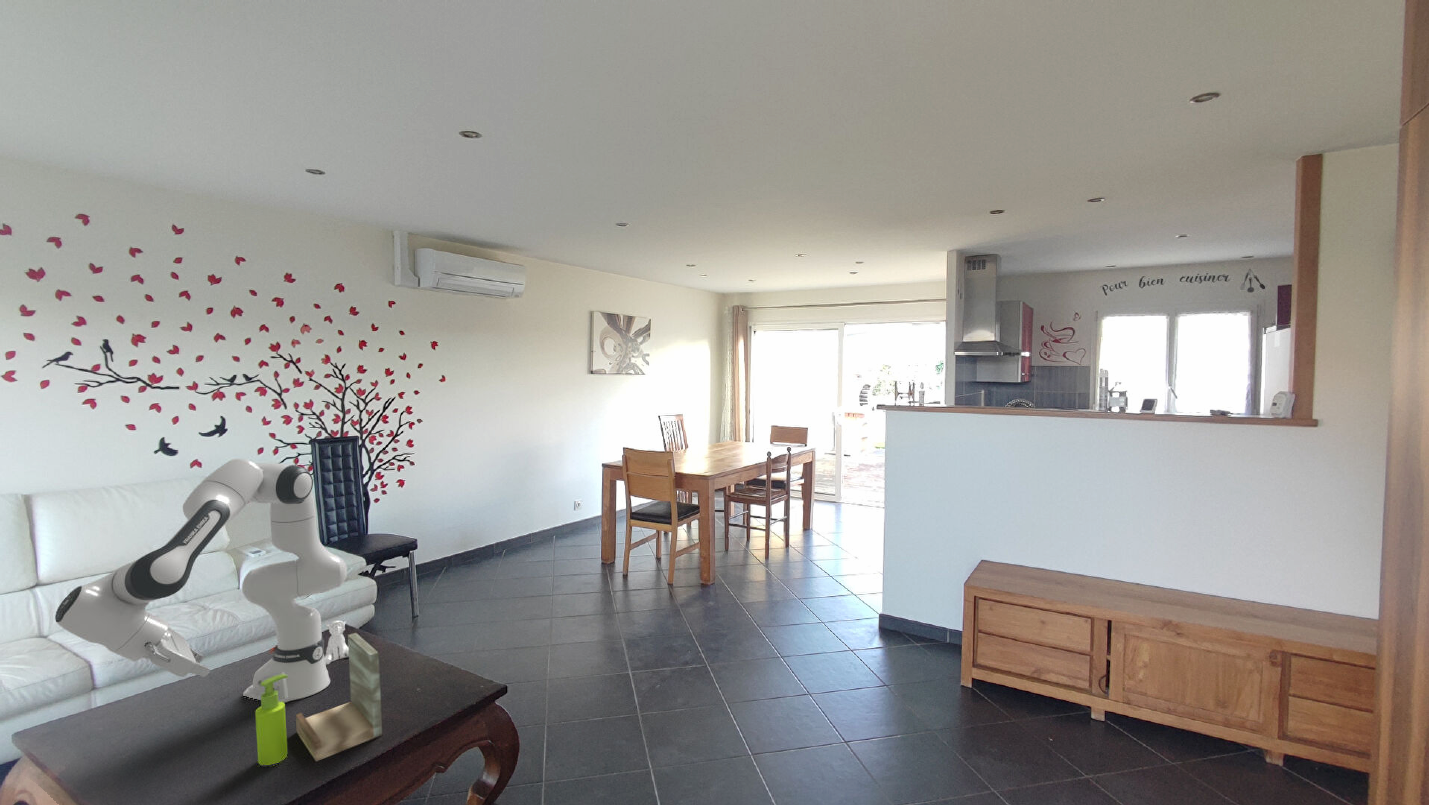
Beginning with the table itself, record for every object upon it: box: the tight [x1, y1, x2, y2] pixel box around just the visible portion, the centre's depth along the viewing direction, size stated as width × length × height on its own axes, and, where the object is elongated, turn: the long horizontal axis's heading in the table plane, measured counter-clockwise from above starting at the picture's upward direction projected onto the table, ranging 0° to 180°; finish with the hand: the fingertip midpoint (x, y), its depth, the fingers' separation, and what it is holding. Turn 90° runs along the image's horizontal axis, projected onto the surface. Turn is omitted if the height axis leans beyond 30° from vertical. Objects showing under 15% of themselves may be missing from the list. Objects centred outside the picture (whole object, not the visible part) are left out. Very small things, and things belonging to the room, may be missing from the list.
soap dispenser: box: [254, 674, 288, 765], centre depth 153 cm, size 6×7×20 cm
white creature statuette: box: [324, 620, 349, 666], centre depth 207 cm, size 10×9×12 cm
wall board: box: [295, 632, 383, 762], centre depth 163 cm, size 15×18×22 cm
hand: (204, 666), depth 143 cm, fingers open, 8 cm apart
